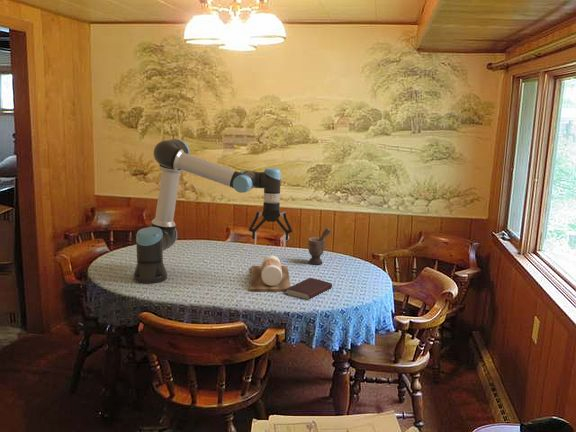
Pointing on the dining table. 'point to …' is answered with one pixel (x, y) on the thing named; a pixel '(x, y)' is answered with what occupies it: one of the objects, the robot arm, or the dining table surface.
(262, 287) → the walnut board
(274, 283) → the fruit juice
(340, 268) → the dining table surface
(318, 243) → the mortar and pestle
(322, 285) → the book
